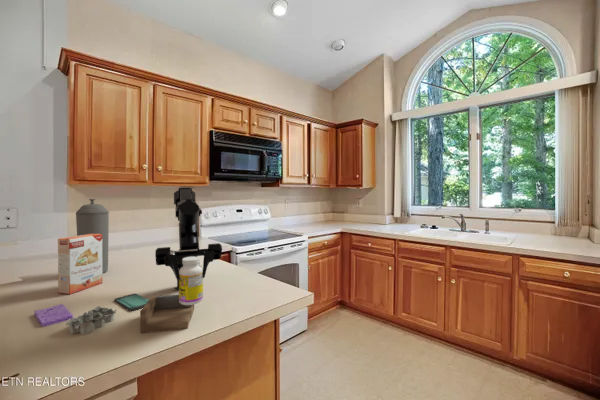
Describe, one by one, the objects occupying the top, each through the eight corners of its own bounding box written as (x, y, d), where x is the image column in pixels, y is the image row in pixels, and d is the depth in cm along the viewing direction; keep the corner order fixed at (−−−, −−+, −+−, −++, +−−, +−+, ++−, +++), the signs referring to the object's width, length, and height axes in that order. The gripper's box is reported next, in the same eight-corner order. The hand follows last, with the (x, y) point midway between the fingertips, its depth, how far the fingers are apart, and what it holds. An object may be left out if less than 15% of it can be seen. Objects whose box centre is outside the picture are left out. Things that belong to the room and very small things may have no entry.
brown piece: (154, 313, 89) (153, 294, 89) (194, 309, 92) (193, 291, 91) (140, 333, 76) (140, 311, 76) (187, 328, 79) (187, 307, 79)
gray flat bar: (157, 308, 87) (157, 296, 87) (191, 305, 89) (191, 293, 89) (156, 310, 86) (156, 297, 86) (191, 307, 88) (190, 294, 88)
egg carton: (85, 337, 75) (85, 322, 75) (63, 334, 76) (62, 319, 76) (119, 319, 85) (119, 305, 85) (98, 316, 87) (98, 303, 87)
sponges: (63, 309, 93) (62, 303, 93) (73, 320, 85) (73, 314, 85) (34, 316, 87) (33, 310, 87) (42, 329, 80) (42, 322, 80)
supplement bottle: (177, 299, 84) (176, 257, 83) (200, 295, 87) (199, 254, 87) (181, 308, 78) (180, 262, 78) (205, 302, 82) (205, 259, 81)
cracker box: (70, 295, 104) (69, 239, 104) (57, 293, 106) (56, 238, 105) (104, 282, 118) (103, 233, 117) (92, 282, 119) (91, 233, 119)
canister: (115, 271, 135) (113, 198, 134) (83, 278, 124) (82, 199, 123) (102, 267, 141) (101, 198, 140) (72, 274, 131) (70, 198, 130)
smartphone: (135, 292, 105) (154, 302, 95) (135, 296, 105) (154, 305, 95) (112, 298, 99) (130, 309, 90) (113, 302, 99) (130, 313, 90)
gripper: (216, 246, 100) (221, 287, 91) (157, 251, 92) (156, 296, 83) (219, 227, 93) (225, 269, 83) (155, 230, 85) (154, 277, 75)
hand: (191, 278), depth 81 cm, fingers closed on supplement bottle, 7 cm apart
